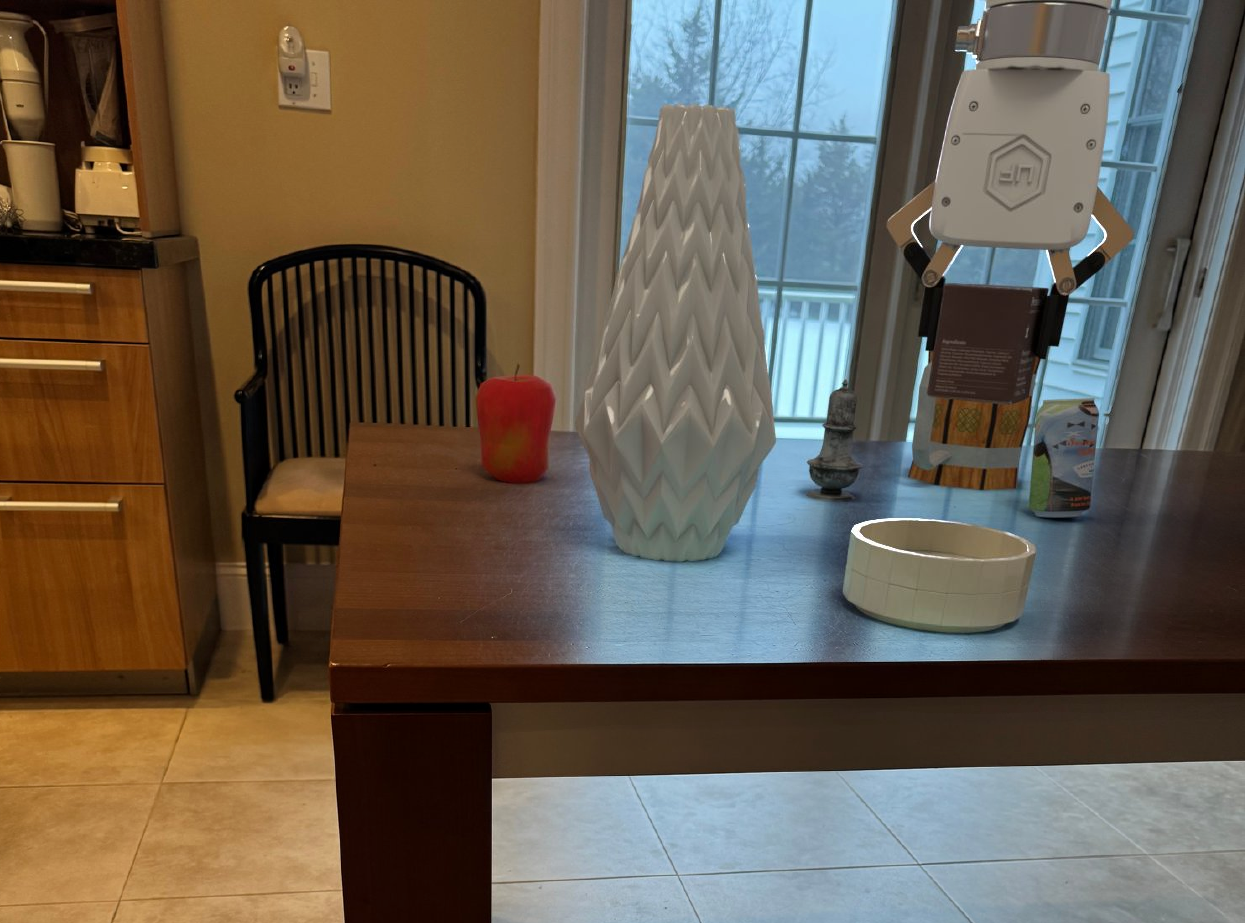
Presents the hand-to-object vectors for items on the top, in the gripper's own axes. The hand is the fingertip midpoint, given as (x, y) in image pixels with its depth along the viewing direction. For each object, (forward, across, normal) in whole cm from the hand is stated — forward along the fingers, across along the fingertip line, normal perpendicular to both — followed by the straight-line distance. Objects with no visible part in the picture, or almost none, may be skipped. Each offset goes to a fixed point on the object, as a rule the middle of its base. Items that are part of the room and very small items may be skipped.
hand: (985, 351), depth 82 cm
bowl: (+18, -1, -2) cm, 18 cm away
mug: (+18, -2, +56) cm, 59 cm away
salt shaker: (+18, -14, +39) cm, 45 cm away
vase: (+18, -24, +7) cm, 31 cm away
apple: (+18, -47, +30) cm, 58 cm away
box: (+3, 0, 0) cm, 3 cm away
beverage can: (+18, +9, +41) cm, 46 cm away
